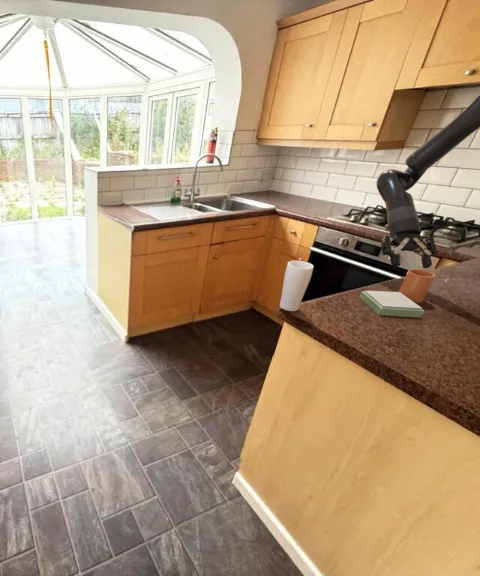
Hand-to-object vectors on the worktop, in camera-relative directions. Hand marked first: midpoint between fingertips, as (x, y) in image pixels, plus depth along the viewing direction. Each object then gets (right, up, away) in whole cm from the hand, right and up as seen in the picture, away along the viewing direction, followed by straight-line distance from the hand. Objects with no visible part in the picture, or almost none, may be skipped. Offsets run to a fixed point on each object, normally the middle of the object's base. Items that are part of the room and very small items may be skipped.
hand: (412, 266), depth 104 cm
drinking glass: (-42, -13, -2) cm, 44 cm away
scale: (-12, -13, -4) cm, 18 cm away
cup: (-1, -10, 0) cm, 10 cm away
